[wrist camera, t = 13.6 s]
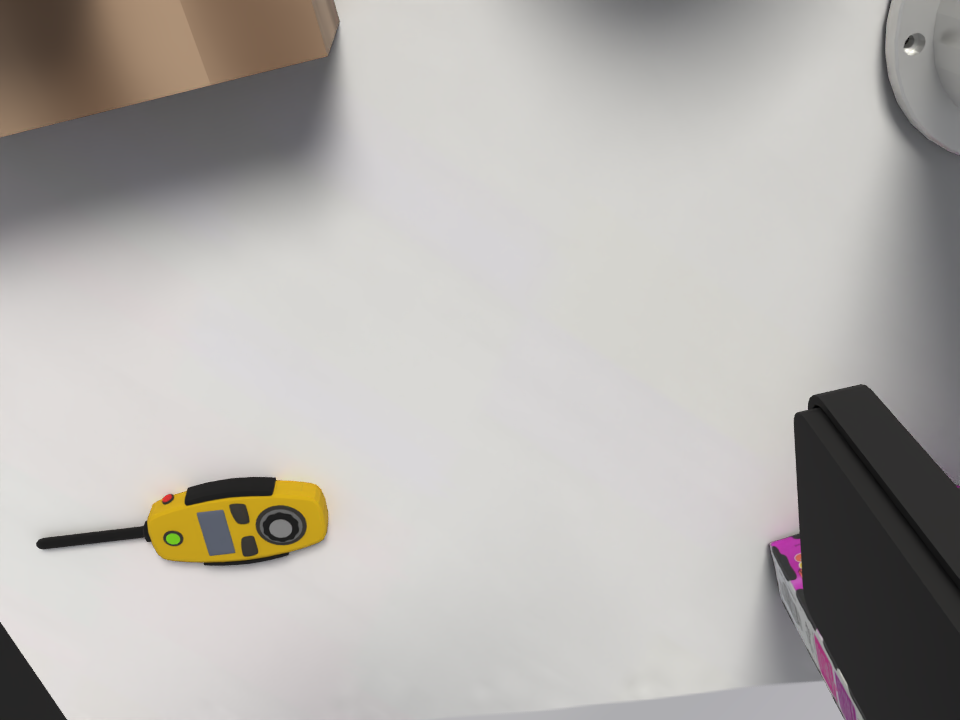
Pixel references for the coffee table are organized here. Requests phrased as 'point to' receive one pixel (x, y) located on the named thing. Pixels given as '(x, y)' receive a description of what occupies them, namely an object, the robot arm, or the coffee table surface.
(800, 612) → the candy bar box
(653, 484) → the coffee table surface
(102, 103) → the socket block
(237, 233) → the coffee table surface
